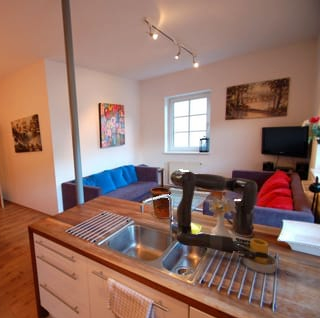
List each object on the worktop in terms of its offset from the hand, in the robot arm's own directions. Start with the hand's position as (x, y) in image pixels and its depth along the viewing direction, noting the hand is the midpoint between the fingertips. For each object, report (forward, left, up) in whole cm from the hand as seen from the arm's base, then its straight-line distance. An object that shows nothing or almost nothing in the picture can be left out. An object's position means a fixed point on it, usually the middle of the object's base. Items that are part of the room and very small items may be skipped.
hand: (265, 252), depth 91 cm
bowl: (-1, -2, -7) cm, 7 cm away
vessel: (-57, -31, -7) cm, 65 cm away
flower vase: (-22, -7, -7) cm, 24 cm away
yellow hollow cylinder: (-1, -2, -7) cm, 7 cm away
